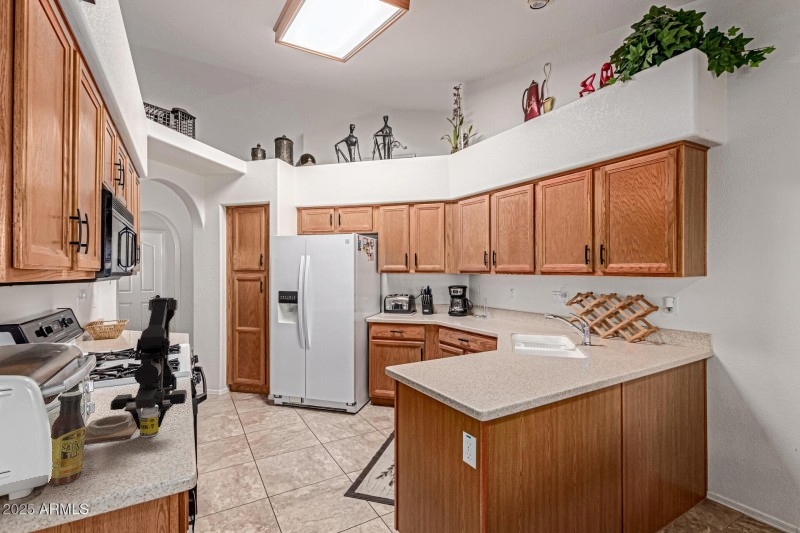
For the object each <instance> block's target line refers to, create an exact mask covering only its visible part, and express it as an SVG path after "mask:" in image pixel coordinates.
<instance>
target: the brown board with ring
mask: <svg viewBox="0 0 800 533" xmlns="http://www.w3.org/2000/svg"><path fill="white" fill-rule="evenodd" d="M137 430H138V428H137V425H136V423H135V420H134V418H133V416H132V415H127V414H116V415H107V416H104V417H100V418H97V419H94V420H91V421H90V423H88V424H87V425H85V439H84V445H85V444H93V443H101V442H111V441H117V440H119V441H120V440H126V439H128V440H129V439H131V438H132V437H133V436H134V434H135V433H136V431H137Z"/></svg>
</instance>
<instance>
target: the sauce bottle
mask: <svg viewBox="0 0 800 533" xmlns="http://www.w3.org/2000/svg"><path fill="white" fill-rule="evenodd" d="M82 398H83V393H82V392H81V391H70V392H65V393H62V394H60V395H59V404H60V406H59V411H58V413H59V415H58V416H57V418H56V419H55V420H54V422H53V424H52V426H51V433H50V434H51V435H50V437H51V438H52V462H53V469H52V476H51V479H50V481H49V483H47V484H48V485H49V486H60V485H66V484H68V483H71V482H73V481H75V480H77V479H79V477H81V475H82V471H83V464H84V451H85V444H84V439H85V427H86V425H85V420H84V418H83V416H82V412H81V411H82V410H81V402H82Z"/></svg>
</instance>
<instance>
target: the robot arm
mask: <svg viewBox="0 0 800 533" xmlns="http://www.w3.org/2000/svg"><path fill="white" fill-rule="evenodd" d="M178 304H179V303H178V300H177V299H175V298H174V297H153V298H152V299H149V300H148V309H147V310H148V311H149V312H151V313H150V316H149V317H150V318H149V321H148V325H147V327H146V328H145V329H144V330H142V331H141V333H140V334H141V335H140V338H137V343H136V349H135V355H134V361H140V364H139V366H138V367H137V369H136V370H135V372H134V375H133V376H134V380H135V382H137V383H138V384H139V388H138V389H137V392H136V395H135V396H133V395H132V394H131V393H126V394H117V396H115V397H114V398H113V399H112V400H111V401H110V408H109V410H111V411H116V410H117V411H119V410H123V409H124V412H128V413H130V414H131V417H133V418H134V420H135V423H136V425H137V430H138V431H140V421H141V415H142V409H143V408H153V407H155V405H158V411H159V414H160V415H159V425H158V427H159V428H160V427H161V426H162V424H163V421H164V419H165V416H166V413H167V411H168V410H170V408H172V407H173V406H174V405H180V404H181V405H182V404H185V403H186V400H187V398H188V391H187V390H186V389H178V386H177V385H178V383H177V382H178V379H177V377H176V375H175V373H174V372H173V371H174V368H173V366H172V365H171V363H170V362H169V354H170V347H171V341H170V330H171V328H170V327H171V320H172V319H173V317H175V315H176V311H178Z"/></svg>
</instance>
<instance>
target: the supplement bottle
mask: <svg viewBox="0 0 800 533" xmlns="http://www.w3.org/2000/svg"><path fill="white" fill-rule="evenodd" d="M159 417H160V411H159V410H158V405H155V407H153V408H142V410H141V421H140V430H139V437H140V438H143V439H146V438H152V437H154V436H157V435H158V434H159V433H160V432H159V428H160V427H158V425H159Z"/></svg>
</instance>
